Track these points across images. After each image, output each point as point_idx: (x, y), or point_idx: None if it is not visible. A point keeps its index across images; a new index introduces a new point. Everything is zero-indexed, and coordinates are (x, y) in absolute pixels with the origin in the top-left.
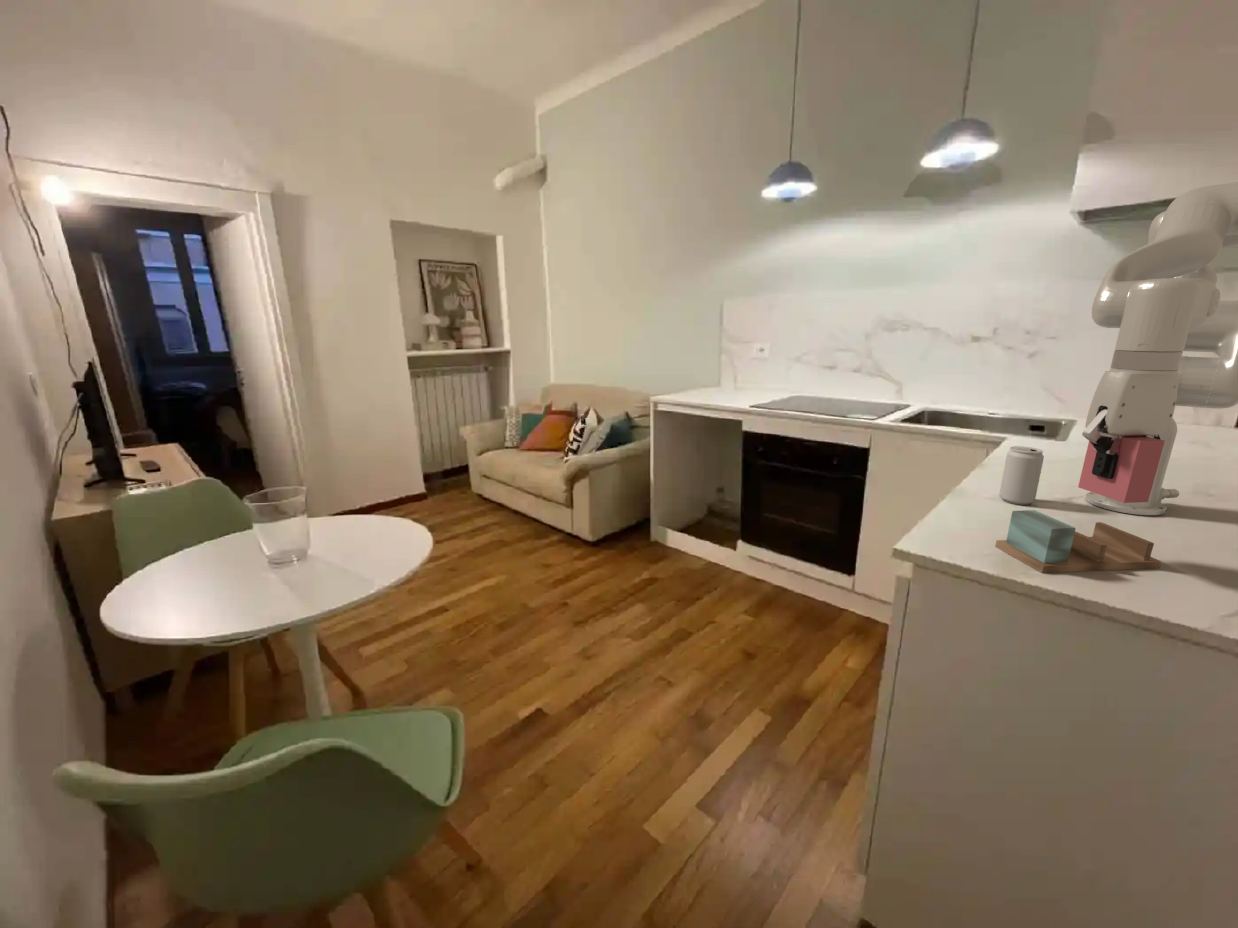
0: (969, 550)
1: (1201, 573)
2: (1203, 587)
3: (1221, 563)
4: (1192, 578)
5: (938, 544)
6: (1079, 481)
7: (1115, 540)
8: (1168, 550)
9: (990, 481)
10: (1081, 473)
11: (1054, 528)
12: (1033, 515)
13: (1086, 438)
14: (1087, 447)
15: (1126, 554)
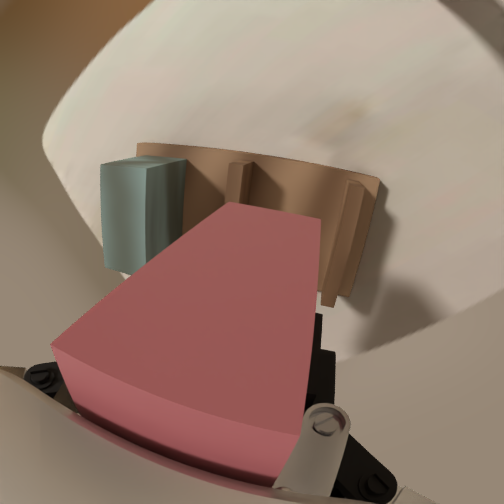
0: (100, 150)
1: (387, 319)
2: (329, 344)
3: (458, 305)
4: (351, 325)
5: (77, 124)
6: (220, 208)
7: (336, 234)
8: (452, 248)
9: None
10: (207, 217)
11: (110, 267)
12: (119, 199)
13: (9, 367)
14: (136, 271)
15: (321, 260)
